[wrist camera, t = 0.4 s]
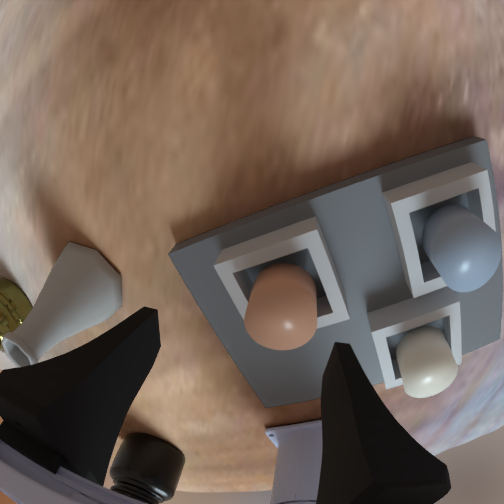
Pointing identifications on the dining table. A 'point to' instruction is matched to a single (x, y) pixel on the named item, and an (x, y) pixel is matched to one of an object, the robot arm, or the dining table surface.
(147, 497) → the ink bottle
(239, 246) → the button panel
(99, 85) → the dining table surface
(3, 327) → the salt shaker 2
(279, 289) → the terracotta button
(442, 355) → the cream button
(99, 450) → the robot arm
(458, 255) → the slate-blue button
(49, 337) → the flask
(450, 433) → the dining table surface
